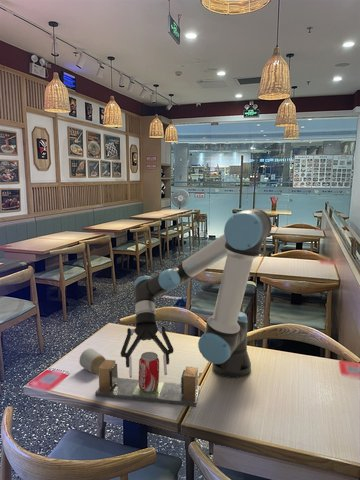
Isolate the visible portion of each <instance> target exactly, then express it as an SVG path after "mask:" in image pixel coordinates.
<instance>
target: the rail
mask: <svg viewBox="0 0 360 480" xmlns="http://www.w3.org/2000/svg"><path fill="white" fill-rule="evenodd" d="M198 370H199V369H198V367H196V366H186V367H185V369H183V371H182V374H181V377H180V383H173V382H165V381H159V383H158V388H157V389H155V390H153V391H151V392H146V391H143V390H142V389H140V388H139V379H135V378H134V379H133V378H121V377H118V376H119V374H118V364H117V362H116V360H114V359H113V360H112V359H106V360H104V361H103V363H102V364H101V365H100V367H99V368H98V372H99V373H98V386H99V387H98V389H97V390H96V391H95V397H96V398H97V397H99V398H108V399H116V400H117V399H118V400H126V401H127V400H128V401H136V402H145V403H146V402H147V403H154V404H155V403H156V404H163V405H164V404H165V405H173V406H182V407H183V406H184V407H193V408H196V407H197V403H198V401H199V400H198V399H199V395H200V390H201V386H200V385H198V383H199V382H198V381H199V380H198V378H199V375H198V373H199V371H198Z"/></svg>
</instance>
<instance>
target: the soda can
mask: <svg viewBox="0 0 360 480" xmlns="http://www.w3.org/2000/svg"><path fill="white" fill-rule="evenodd" d="M138 380H139V388H140V389H142V390H143V391H146V392H151V391H153V390H155V389H157V388H158V383H159V382H160V358H159V356H158V354H157V353H156V352H154V351H146V352H143V353H141V355H140V358H139V361H138Z"/></svg>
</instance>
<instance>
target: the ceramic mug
mask: <svg viewBox="0 0 360 480" xmlns="http://www.w3.org/2000/svg"><path fill="white" fill-rule="evenodd" d="M104 360H107V359H106V358H105V356H104V355H102V354H101V353H99V352H98V351H96V350H95V349H93V348H87V349H85V350H84V351H83V352H81V355H80V356H79V360H78V361H79V365H80V367H82V368H84V369H85V370H87V371H89V372H91V373H94V374H99V372H98V368H99V367H100V365H101V364H102V363H103V361H104Z"/></svg>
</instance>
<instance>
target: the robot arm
mask: <svg viewBox="0 0 360 480" xmlns="http://www.w3.org/2000/svg"><path fill="white" fill-rule="evenodd" d="M272 224H273V223H272V220H271V217H270V215H269V214H268V213H267V212H266V211H264V210H262V209H259V208H250V209H247V210H245V209H244V210H241V211H240V210H239V211H238V212H236V213H234V214H232V215H231V216H230V217H229V218H228V219H227V221H226V222H225V224H224V229H223V234H222V235H221V236H219V237H217V238H216V239H215V240H213V241H211V242H210V243H208V244H207V245H205V246H204V247H202V248H201V249H199V250H198V251H196V252H195V253H193V254H192V255H190V256H188V258H186V259H185V260H183V261H181V262H180V263H178V264H177V265H175V266H172V267H171V268H168V269H165V270H162V271H161V272H160V273H157V274H155V275H154V276H153V277H152V276H149V275H142V276H138V277H136V279H135V281H134V289H133V290H134V301H135V302H134V306H135V307H134V309H135V310H134V311H135V313H134V314H135V328H130V327H128V328H127V329H126V330H127V334H126V337H125V340H124V343H123V345H122V348H121V351H120V357H122V358H125V366H126V368H129V370H128V371H129V373H128V374H129V375H128V376H129V379H133V374H132V373H133V368H132V367H133V364H132V362H133V361H132V358H133V357H132V354H133V352H134V351H135V350H136V347H137V346H138V345H139V343H140V342H141V341H152V340H153V341H152V342H154V343H155V345H157V347H158V348H159V350H161V351H162V353H163V355H162V360H163V372H164V376H167V375H168V368H167V366H168V365H170V355H171V354H173V353H174V347H173V345H172V343H171V340H170V338H169V337H168V334H167V333H166V327H165V326H164V325H163V326H161V327H158V326H157V317H156V298H157V297H159V296H161V295H164V294H166V293H168V292H170V291H173V290H174V289H176V288H177V287H179V286H181V285H183V284H184V283H186V282H189V280H190V279H192V278H194V277H195V276H197V275H198V274H200V273H201V272H203V271H205V270H207V269H208V268H210V267H211V266H213V265H215V264H217V263H218V262H219V261H220V262H221V260H222V259H224V258H226V259H225V262H224V267H223V272H222V276H221V281H220V285H219V289H218V293H217V298H216V302H215V307H214V309H213V314H212V315H211V316H209V317H208V318H207V320H206V326H205V330H204V332H203V333H202V335H200V337H199V339H198V343H197V347H198V350H199V353H200V354H201V355H202V357H203V358H204V359H205V360H206V361H208V362H209V363H211V364H212V365H211V366H212V370H213V371H214V372H215V373H216V374H218V375H219V376H221V377H226V378H235V379H237V378H241V377H245V376H247V375H249V374H250V373H251V371H252V361H251V359H250V357H249V354H248V347H247V346H248V323H249V322H248V316H247V314H246V313H245V312H242V311H241V308H242V304H243V300H244V298H245V297H244V296H245V293H246V289H247V285H248V281H249V278H250V277H249V275H250V273H251V270H252V269H251V268H252V265H253V263H254V262H253V261H254V260H255V259H256V258H258V257H259V256H260V253H261V250H262V245H263V241H264V240H265V239H267V238H268V237H269V235H270V233H271V232H272V228H273V225H272ZM158 332H159V333H160V334H161V337H162V338H163V341H164V343H165V345H166V346H165V345H164V343H163V342H162V340H161V339H160V338H159V337H158V336H157V333H158ZM134 333H135V335H136V337H135V339H134V341H133V342H132V343H131V345H130V347H129V348H128V346H129V343H130V341H131V336H133V335H134Z"/></svg>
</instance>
